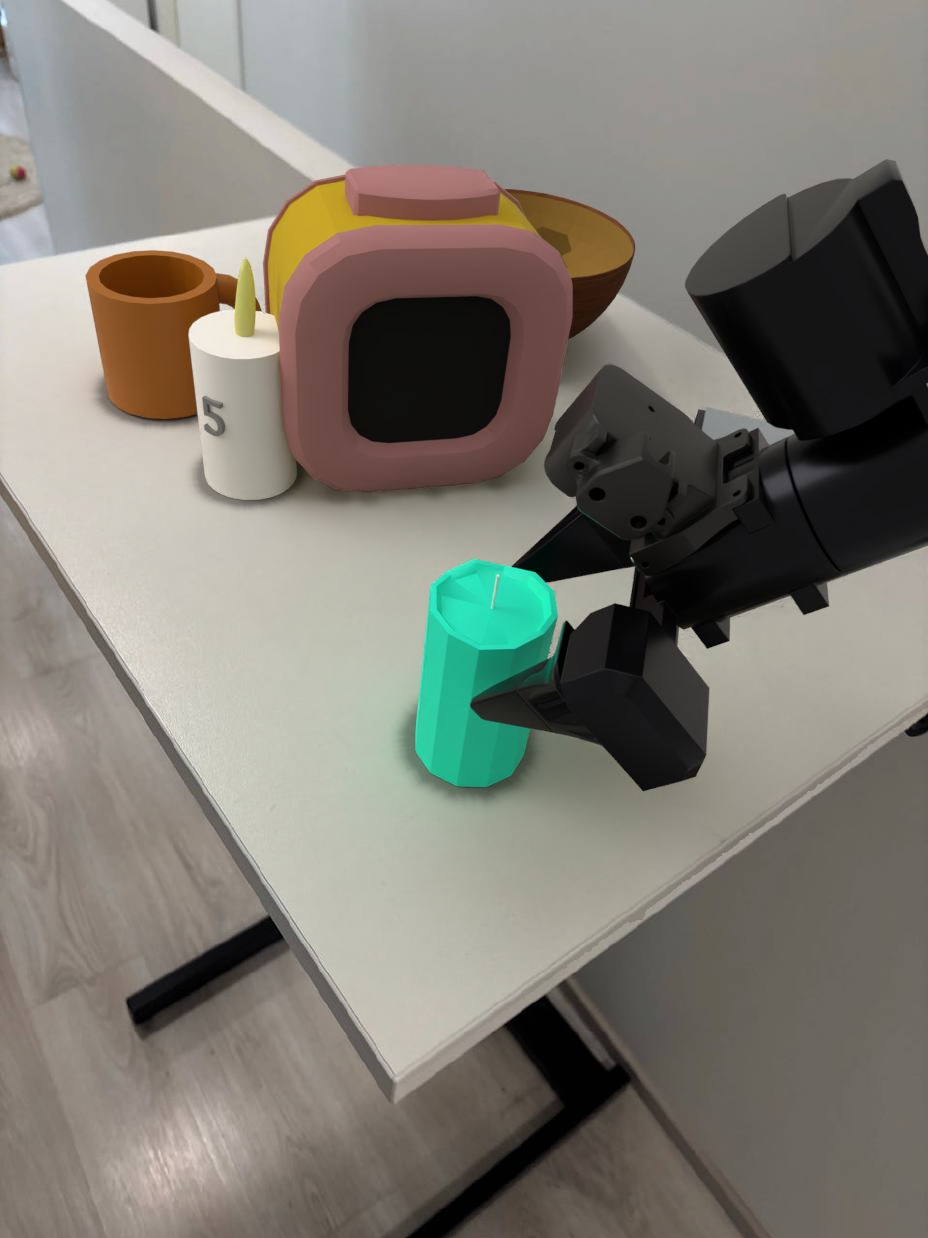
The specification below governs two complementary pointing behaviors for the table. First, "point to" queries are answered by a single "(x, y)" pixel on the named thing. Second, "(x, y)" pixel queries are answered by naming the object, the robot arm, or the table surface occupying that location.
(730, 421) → the scale
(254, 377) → the candle
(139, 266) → the mug
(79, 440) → the table surface
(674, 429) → the robot arm
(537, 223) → the bowl
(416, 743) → the candle
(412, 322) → the alarm clock
